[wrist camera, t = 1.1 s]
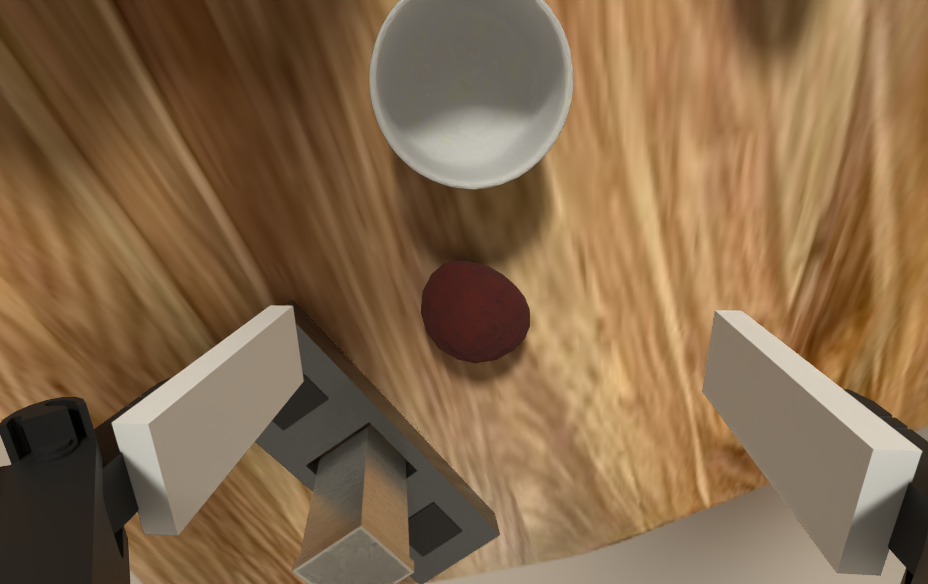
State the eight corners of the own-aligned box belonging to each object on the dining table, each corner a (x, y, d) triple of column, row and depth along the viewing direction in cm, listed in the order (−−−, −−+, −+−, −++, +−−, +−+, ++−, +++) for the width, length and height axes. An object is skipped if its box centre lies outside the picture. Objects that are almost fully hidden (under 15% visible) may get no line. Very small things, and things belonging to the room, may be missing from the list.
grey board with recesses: (201, 366, 37) (187, 384, 34) (292, 299, 36) (285, 313, 34) (419, 561, 47) (420, 586, 45) (494, 513, 46) (500, 535, 44)
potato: (464, 360, 40) (475, 400, 34) (396, 291, 37) (397, 323, 31) (533, 304, 39) (557, 336, 33) (469, 229, 36) (484, 251, 30)
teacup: (518, 181, 35) (552, 201, 28) (368, 162, 33) (361, 177, 26) (557, -39, 31) (610, -86, 23) (385, -77, 29) (383, -141, 21)
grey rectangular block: (318, 445, 41) (291, 571, 30) (369, 410, 40) (360, 525, 29) (359, 483, 43) (348, 614, 32) (408, 450, 42) (414, 572, 31)
